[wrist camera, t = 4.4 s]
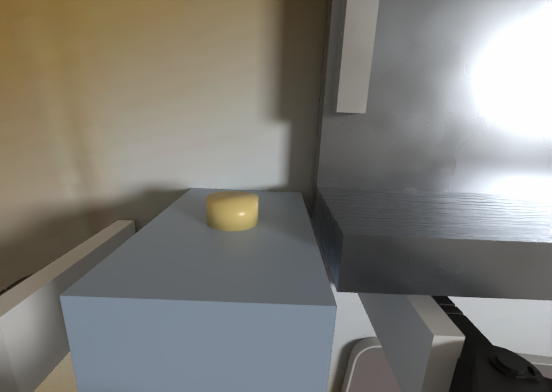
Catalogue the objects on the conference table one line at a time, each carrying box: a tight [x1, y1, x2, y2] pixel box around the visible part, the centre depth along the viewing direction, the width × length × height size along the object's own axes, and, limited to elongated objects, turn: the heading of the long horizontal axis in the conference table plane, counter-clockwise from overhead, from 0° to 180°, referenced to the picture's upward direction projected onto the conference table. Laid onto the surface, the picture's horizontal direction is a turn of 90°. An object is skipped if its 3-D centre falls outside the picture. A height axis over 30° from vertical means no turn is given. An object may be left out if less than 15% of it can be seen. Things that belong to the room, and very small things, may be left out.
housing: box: [60, 188, 337, 392], centre depth 10 cm, size 5×7×8 cm
